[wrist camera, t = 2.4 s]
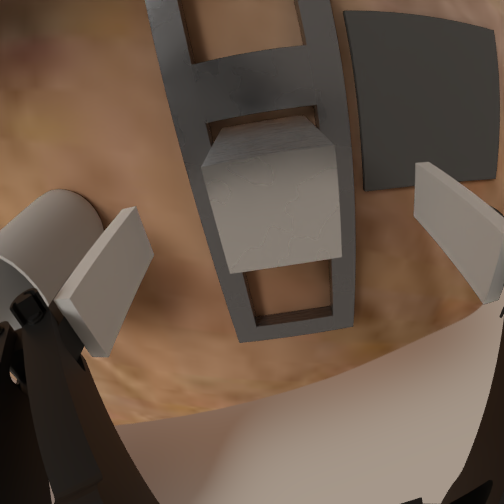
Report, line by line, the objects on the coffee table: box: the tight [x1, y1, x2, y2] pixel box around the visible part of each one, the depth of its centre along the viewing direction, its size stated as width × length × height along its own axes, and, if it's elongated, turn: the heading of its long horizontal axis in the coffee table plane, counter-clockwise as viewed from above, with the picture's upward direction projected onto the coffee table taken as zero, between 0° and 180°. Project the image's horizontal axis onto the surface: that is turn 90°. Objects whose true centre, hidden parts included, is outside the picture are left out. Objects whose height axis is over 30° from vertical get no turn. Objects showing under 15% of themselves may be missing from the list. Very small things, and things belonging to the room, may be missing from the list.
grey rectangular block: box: [201, 115, 342, 274], centre depth 16 cm, size 5×5×8 cm
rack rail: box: [145, 0, 356, 343], centre depth 18 cm, size 30×10×1 cm, turn 11°
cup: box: [0, 189, 104, 330], centre depth 19 cm, size 7×10×9 cm
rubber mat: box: [343, 11, 500, 191], centre depth 16 cm, size 12×12×1 cm
